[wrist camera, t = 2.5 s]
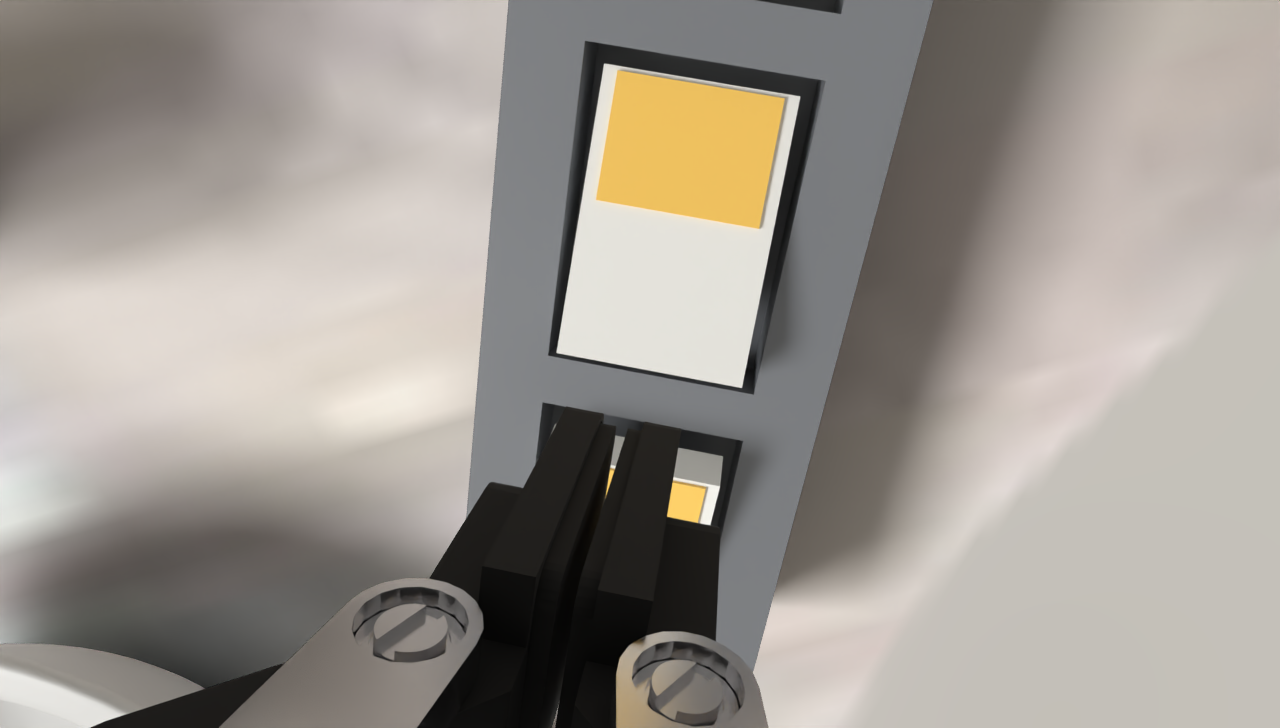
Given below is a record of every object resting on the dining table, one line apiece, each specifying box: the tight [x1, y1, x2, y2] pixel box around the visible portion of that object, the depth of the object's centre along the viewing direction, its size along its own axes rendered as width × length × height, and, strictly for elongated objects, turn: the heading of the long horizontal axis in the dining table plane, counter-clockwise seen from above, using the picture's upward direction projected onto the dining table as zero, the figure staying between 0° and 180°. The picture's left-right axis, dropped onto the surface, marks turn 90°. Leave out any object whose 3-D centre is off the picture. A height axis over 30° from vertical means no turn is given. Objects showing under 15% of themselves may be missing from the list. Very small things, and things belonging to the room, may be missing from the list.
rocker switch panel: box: [466, 0, 933, 672], centre depth 18 cm, size 32×8×5 cm, turn 171°
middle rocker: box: [557, 64, 800, 388], centre depth 17 cm, size 6×4×1 cm, turn 171°
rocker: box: [551, 424, 723, 525], centre depth 20 cm, size 6×4×1 cm, turn 171°
